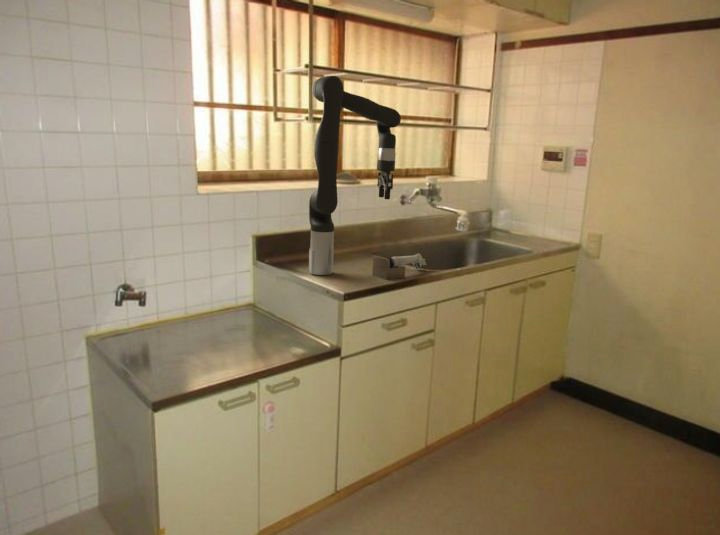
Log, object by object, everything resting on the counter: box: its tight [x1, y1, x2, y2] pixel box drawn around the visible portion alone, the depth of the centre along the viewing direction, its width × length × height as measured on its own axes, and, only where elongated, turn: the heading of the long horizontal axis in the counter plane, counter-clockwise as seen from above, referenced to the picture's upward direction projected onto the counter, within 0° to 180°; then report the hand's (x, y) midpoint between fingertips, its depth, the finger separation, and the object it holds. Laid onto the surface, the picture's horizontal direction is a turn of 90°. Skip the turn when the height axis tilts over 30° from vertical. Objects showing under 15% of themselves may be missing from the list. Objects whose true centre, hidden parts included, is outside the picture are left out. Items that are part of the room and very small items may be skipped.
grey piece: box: [387, 253, 427, 270], centre depth 220 cm, size 5×7×25 cm
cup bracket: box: [371, 255, 406, 281], centre depth 214 cm, size 9×9×8 cm
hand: (384, 198), depth 227 cm, fingers open, 8 cm apart
